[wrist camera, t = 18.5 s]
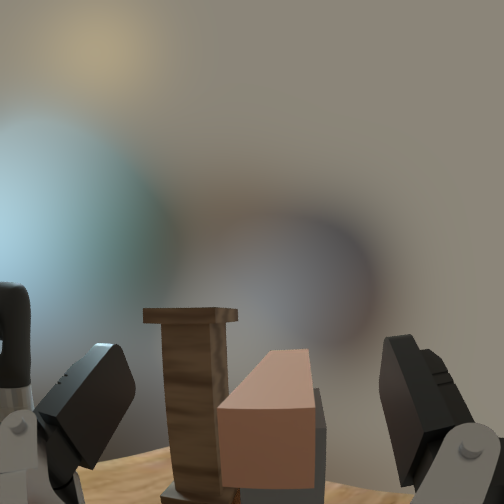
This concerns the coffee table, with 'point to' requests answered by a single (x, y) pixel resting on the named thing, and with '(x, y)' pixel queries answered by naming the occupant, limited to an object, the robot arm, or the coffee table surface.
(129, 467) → the coffee table surface
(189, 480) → the shelf stand
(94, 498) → the coffee table surface
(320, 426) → the grey rectangular block
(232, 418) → the brick
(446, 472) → the robot arm
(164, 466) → the coffee table surface
